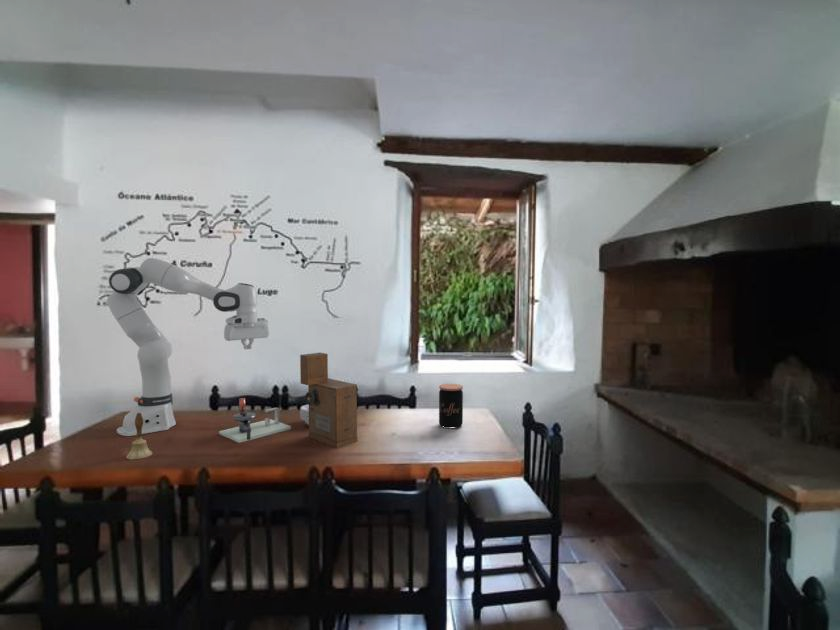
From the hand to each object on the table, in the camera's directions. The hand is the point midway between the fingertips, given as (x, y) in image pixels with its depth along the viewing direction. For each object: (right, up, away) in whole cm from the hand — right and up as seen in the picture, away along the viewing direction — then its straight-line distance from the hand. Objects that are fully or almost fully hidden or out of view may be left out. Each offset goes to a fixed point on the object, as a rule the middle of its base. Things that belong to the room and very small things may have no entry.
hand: (247, 348), depth 208 cm
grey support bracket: (+13, -33, -6) cm, 36 cm away
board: (+8, -35, -12) cm, 38 cm away
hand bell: (-25, -37, -40) cm, 60 cm away
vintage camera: (+42, -36, -21) cm, 59 cm away
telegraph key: (+6, -34, -18) cm, 39 cm away
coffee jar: (+93, -35, -2) cm, 99 cm away
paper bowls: (+32, -35, +1) cm, 47 cm away
